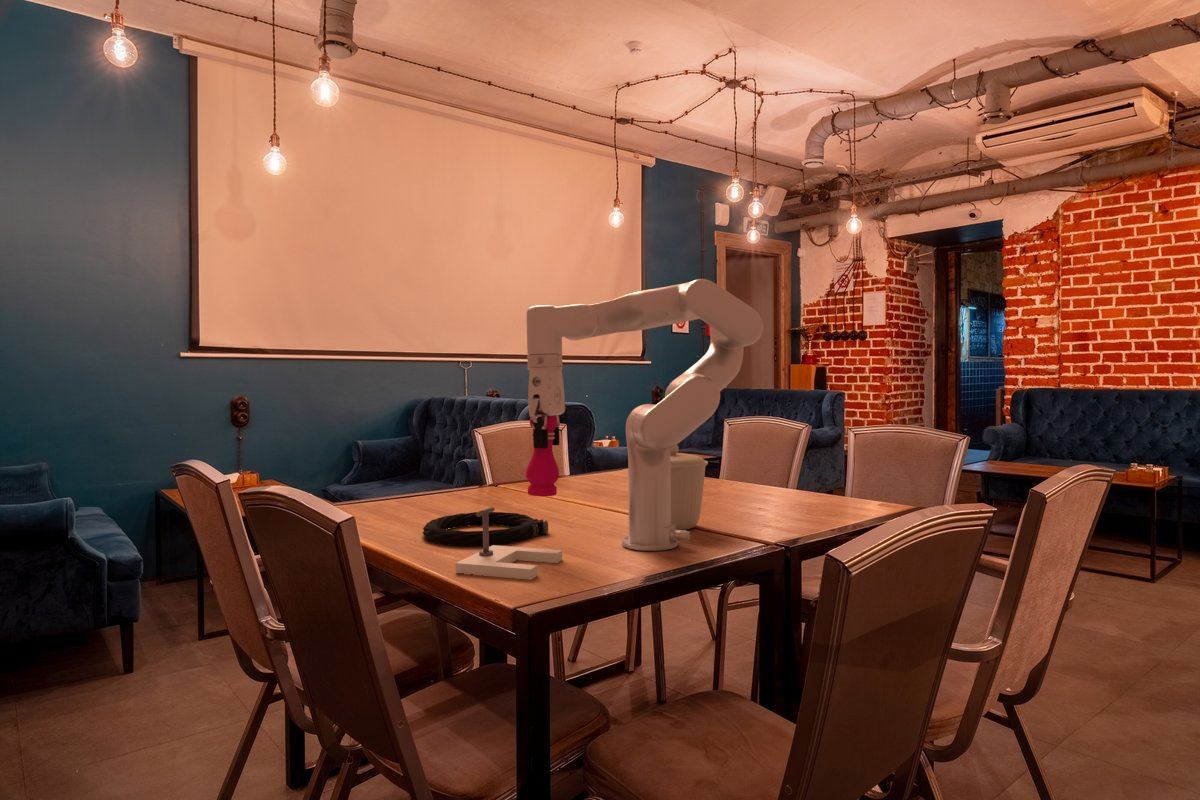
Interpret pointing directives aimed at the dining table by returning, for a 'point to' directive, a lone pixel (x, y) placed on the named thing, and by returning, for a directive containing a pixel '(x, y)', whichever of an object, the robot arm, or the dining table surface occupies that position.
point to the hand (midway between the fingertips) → (546, 445)
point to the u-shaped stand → (504, 557)
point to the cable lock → (518, 532)
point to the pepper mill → (543, 465)
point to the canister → (686, 488)
